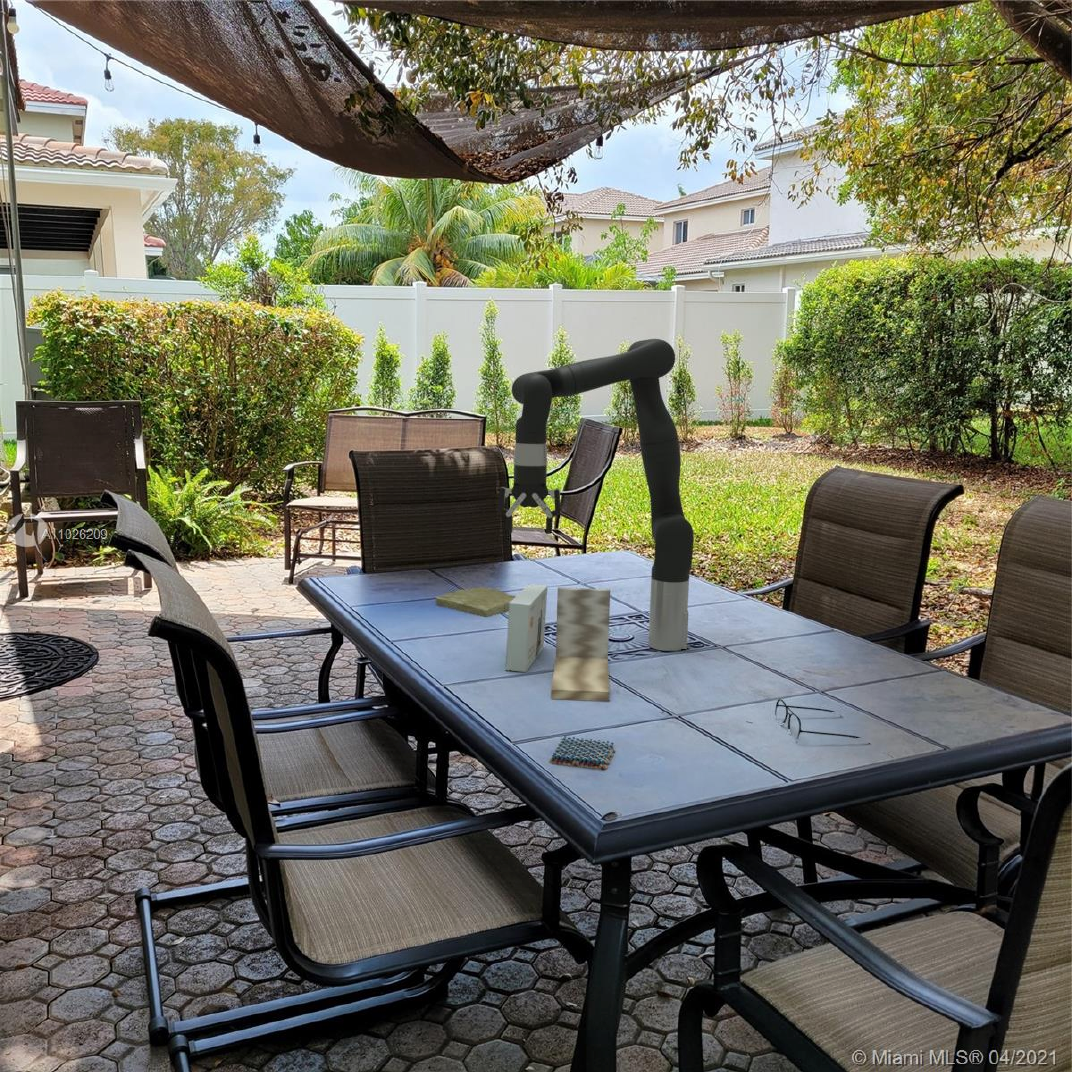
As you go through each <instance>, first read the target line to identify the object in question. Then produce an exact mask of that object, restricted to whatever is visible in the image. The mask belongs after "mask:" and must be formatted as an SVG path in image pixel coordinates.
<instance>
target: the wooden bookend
mask: <svg viewBox="0 0 1072 1072" xmlns="http://www.w3.org/2000/svg"><path fill="white" fill-rule="evenodd" d="M556 598H557V601H556V632H555V634H556V635H555V638H556V639H555V659H554V667H553V675H552V682H551V693H550V694H551V695H550V699H552V700H572V701H573V700H574V701H594V702H595V701H597V702H599V701H600V702H610V678H609V677H610V675H609V641H610V640H609V638H610V636H609V634H610V613H611V611H610V608H611V607H610V606H611V589H609V588H586V587H585V588H584V587H583V588H581V587H579V588H578V587H557V597H556Z"/></svg>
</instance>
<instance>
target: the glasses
mask: <svg viewBox="0 0 1072 1072" xmlns="http://www.w3.org/2000/svg"><path fill="white" fill-rule="evenodd" d="M779 702H782V704H779ZM779 707H782V708H784V707H785V718H784V720H783V721H782V723H787V730H788V729H790V730H791V718H792V716H795V717H796V719H797V721H798V734H797V738H796V740H797V739H798V740H799V737H800V735H801V733H807V734H815V735H824V736H835V737H837V736H838V737H845V738H853V739H857V738H860V736H857V735H851V734H850V735H849V734H841V733H831V732H821V731H813V730H812V731H810V730H802V722H801V719H800V718H799V716H798V715H797V714H796V713H794V712H793V711H792V710H791V709H790V708H794V709H800V710H801V709H803V710H813V711H823V712H827V713H832V712H835V711H834V710H831V709H824V708H815V707H809V706H808V707H805V706H798V705H797V706H796V705H795V706H794V705H787V704H786V702H785V701H784V700H783V699H781V698H780V699H778V700H777V702H776V705H775V710H774V713H775V715H776V716H777V709H778V708H779ZM775 715H774V716H775Z"/></svg>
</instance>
